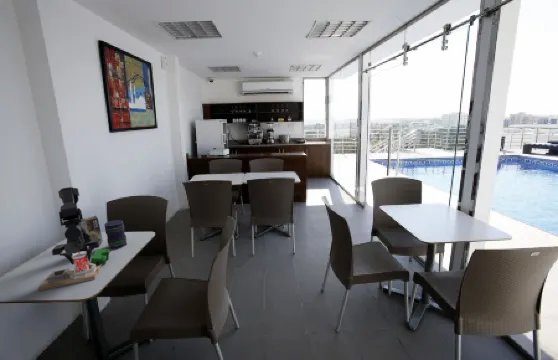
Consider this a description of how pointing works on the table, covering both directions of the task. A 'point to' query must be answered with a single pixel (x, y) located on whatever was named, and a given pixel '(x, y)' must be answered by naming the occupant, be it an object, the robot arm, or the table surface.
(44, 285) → the socket board
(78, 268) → the beverage cup
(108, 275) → the table surface
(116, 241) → the storage jar
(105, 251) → the clamp
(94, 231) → the coffee box
